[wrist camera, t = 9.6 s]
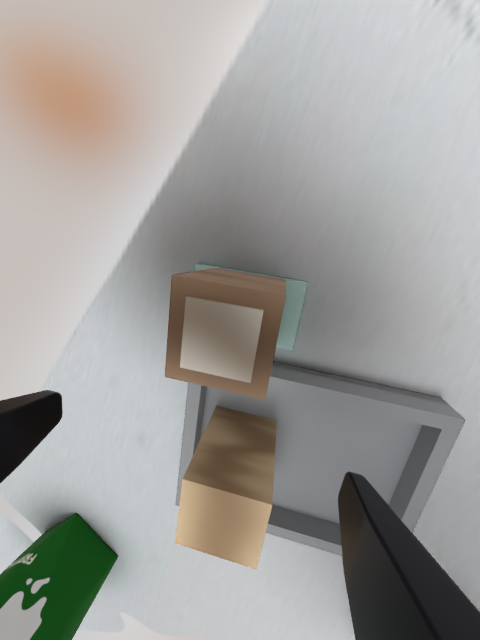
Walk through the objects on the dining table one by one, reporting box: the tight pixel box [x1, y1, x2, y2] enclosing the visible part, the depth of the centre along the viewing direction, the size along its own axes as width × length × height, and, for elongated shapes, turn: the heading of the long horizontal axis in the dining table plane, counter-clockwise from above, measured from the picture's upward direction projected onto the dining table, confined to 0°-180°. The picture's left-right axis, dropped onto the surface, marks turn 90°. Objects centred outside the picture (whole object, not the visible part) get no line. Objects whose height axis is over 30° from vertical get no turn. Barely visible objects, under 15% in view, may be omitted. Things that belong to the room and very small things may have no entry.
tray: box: [176, 362, 465, 556], centre depth 20 cm, size 18×14×2 cm
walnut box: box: [165, 268, 286, 400], centre depth 14 cm, size 5×5×7 cm
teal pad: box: [194, 264, 308, 351], centre depth 18 cm, size 8×5×1 cm, turn 81°
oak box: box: [175, 406, 277, 569], centre depth 17 cm, size 5×5×7 cm
